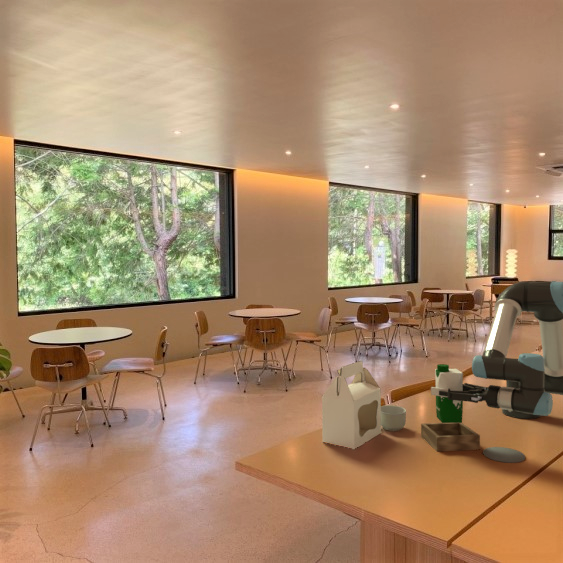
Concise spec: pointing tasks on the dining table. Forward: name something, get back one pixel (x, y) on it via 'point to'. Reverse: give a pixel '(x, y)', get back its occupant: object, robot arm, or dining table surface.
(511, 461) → the grey coaster
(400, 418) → the teacup
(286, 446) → the dining table surface
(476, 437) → the walnut crate
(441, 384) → the soya milk
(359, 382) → the gable box
